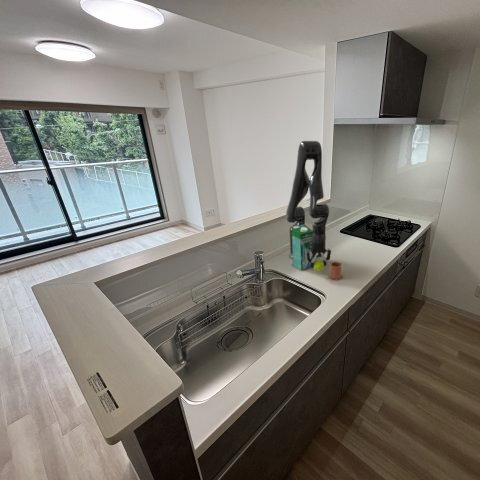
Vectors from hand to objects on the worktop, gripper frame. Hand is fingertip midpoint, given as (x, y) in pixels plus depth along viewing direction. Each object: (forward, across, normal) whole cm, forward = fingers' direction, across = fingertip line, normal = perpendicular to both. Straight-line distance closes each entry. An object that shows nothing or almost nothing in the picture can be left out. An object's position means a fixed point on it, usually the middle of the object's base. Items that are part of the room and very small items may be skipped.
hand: (318, 266), depth 149 cm
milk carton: (+5, +7, -12) cm, 14 cm away
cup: (+4, -8, +6) cm, 11 cm away
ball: (-1, 0, 0) cm, 1 cm away
